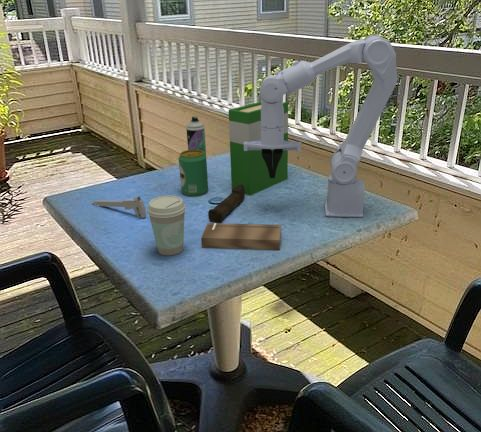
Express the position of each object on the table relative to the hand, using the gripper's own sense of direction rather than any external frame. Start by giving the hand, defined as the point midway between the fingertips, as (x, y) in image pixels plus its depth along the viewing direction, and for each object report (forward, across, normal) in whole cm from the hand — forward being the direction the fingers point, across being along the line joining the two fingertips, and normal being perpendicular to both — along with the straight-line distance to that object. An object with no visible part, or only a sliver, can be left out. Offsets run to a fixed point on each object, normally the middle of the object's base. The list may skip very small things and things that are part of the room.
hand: (272, 176), depth 127 cm
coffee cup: (+10, +22, +24) cm, 34 cm away
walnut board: (+9, +6, +18) cm, 22 cm away
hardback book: (+10, +5, -19) cm, 22 cm away
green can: (+10, +24, -12) cm, 28 cm away
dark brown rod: (+10, +12, 0) cm, 16 cm away
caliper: (+10, +42, +3) cm, 44 cm away
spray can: (+10, +25, -23) cm, 35 cm away
